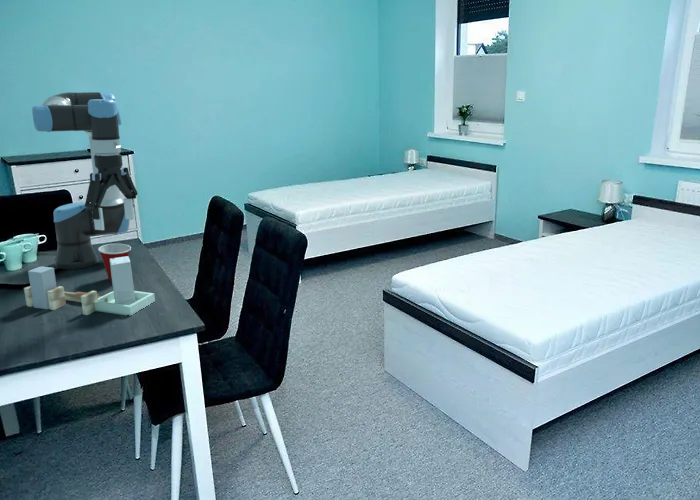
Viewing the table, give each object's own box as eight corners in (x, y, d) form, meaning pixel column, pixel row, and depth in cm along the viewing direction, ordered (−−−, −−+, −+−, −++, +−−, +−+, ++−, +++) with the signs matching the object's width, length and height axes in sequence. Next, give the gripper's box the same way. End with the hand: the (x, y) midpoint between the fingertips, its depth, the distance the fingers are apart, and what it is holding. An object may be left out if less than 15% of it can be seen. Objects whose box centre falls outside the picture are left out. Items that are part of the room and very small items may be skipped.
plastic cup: (120, 285, 194) (116, 252, 191) (95, 282, 197) (91, 249, 194) (140, 276, 204) (137, 244, 201) (116, 272, 207) (113, 241, 204)
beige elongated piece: (48, 296, 184) (46, 279, 182) (108, 304, 177) (106, 286, 176) (26, 306, 175) (23, 288, 174) (87, 315, 169) (85, 296, 167)
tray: (118, 297, 184) (117, 288, 183) (155, 302, 180) (154, 293, 179) (92, 310, 173) (91, 301, 172) (131, 316, 169) (130, 306, 168)
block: (46, 301, 179) (40, 266, 176) (59, 303, 178) (53, 267, 174) (33, 307, 175) (27, 271, 171) (46, 309, 173) (41, 272, 170)
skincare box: (136, 307, 174) (131, 262, 169) (115, 310, 171) (110, 264, 167) (134, 298, 181) (129, 255, 177) (114, 301, 178) (109, 257, 174)
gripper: (87, 159, 150) (96, 235, 156) (145, 149, 173) (151, 216, 179) (64, 158, 152) (74, 233, 158) (124, 148, 175) (131, 214, 181)
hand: (115, 224), depth 169 cm, fingers open, 13 cm apart
